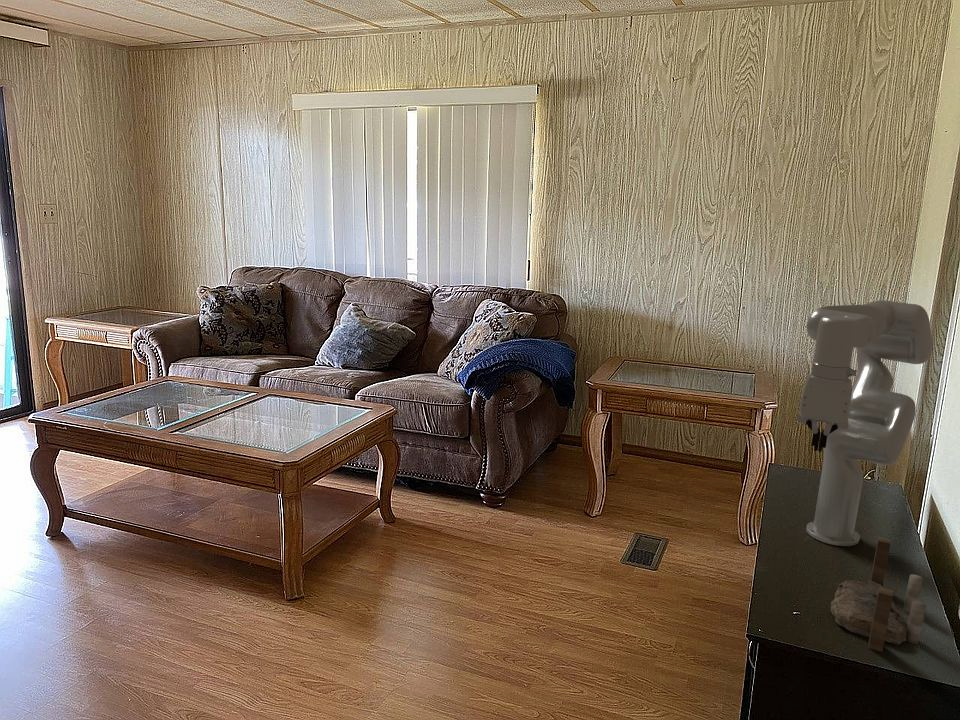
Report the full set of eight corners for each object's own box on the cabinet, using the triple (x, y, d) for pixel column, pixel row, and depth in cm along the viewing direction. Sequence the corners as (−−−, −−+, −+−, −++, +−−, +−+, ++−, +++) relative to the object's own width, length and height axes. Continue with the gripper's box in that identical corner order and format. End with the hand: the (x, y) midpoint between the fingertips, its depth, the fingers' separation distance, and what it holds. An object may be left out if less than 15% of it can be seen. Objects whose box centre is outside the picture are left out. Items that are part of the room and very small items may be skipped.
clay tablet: (833, 584, 170) (826, 626, 152) (836, 565, 169) (831, 605, 151) (902, 604, 163) (905, 650, 146) (907, 584, 162) (910, 628, 145)
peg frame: (869, 585, 169) (878, 536, 167) (914, 596, 166) (924, 546, 163) (868, 648, 146) (878, 592, 143) (920, 662, 142) (932, 606, 139)
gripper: (867, 373, 166) (854, 451, 170) (795, 363, 173) (784, 438, 177) (867, 380, 160) (853, 461, 164) (792, 370, 166) (781, 448, 170)
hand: (818, 449), depth 170 cm, fingers closed
